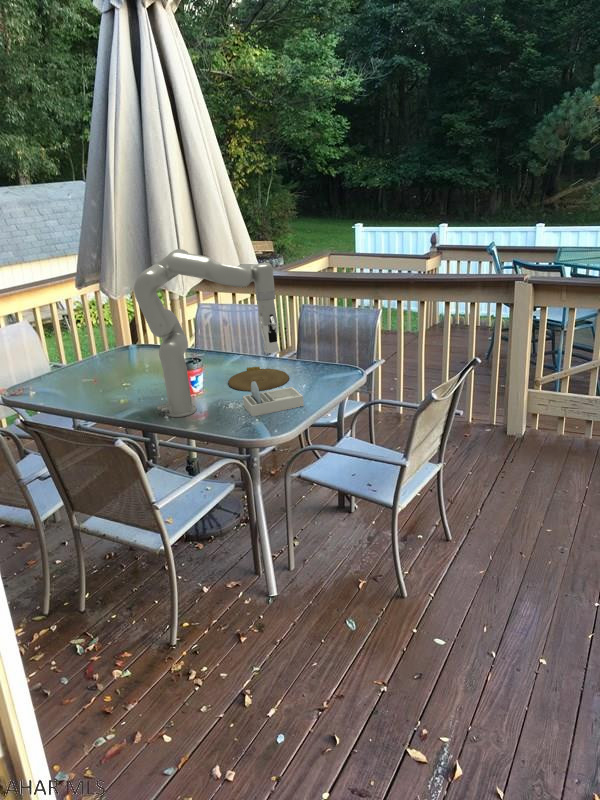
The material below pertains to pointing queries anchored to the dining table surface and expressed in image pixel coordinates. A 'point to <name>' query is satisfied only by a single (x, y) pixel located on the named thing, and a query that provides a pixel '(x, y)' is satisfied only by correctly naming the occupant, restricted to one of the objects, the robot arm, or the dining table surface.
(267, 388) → the decorative disc
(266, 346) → the beer glass
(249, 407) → the rack
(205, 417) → the dining table surface
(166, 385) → the robot arm
